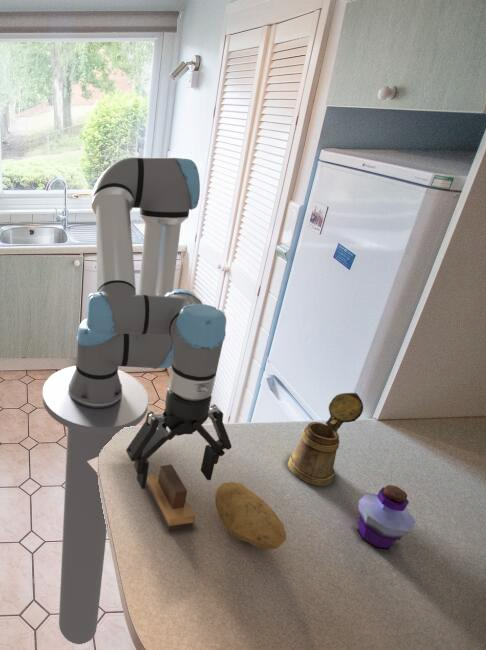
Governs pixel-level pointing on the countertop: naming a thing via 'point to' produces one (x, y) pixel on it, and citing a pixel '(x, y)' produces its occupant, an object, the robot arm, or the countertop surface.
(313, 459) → the wooden mug
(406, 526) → the potion bottle
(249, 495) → the potato
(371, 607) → the countertop surface
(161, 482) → the brush
